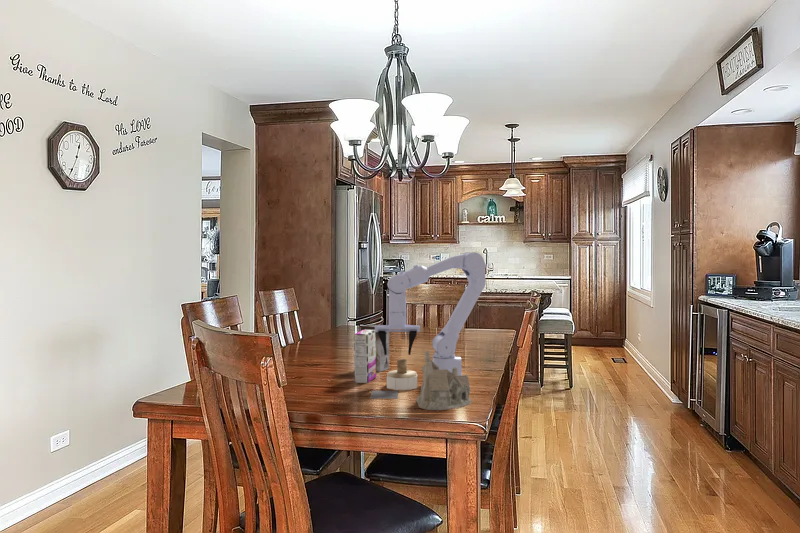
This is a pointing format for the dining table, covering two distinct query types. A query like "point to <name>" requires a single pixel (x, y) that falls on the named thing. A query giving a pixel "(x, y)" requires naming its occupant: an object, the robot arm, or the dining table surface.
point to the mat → (384, 395)
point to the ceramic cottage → (442, 388)
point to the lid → (402, 370)
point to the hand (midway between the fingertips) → (397, 354)
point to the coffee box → (379, 349)
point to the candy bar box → (365, 356)
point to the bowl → (401, 383)
